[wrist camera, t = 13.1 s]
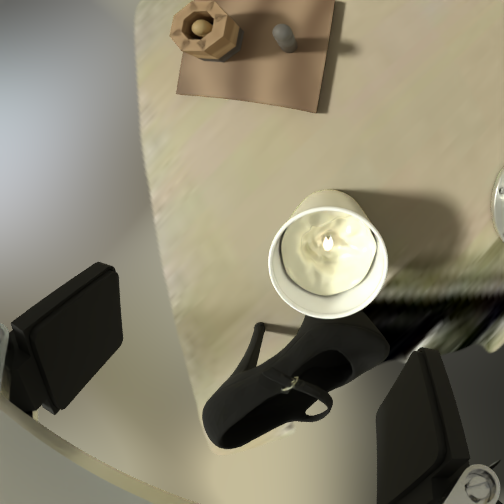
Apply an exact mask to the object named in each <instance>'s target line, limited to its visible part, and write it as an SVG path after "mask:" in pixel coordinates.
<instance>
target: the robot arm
mask: <svg viewBox="0 0 504 504" xmlns="http://www.w3.org/2000/svg"><path fill="white" fill-rule="evenodd" d="M499 189H500V190H499ZM491 212H492V220H493V224H494V227H495V230H496V232H497V234H498V236H499V237H500V239H501V240H502V241H503V242H504V167H503V168H502V169H501V171H500V173H499V175H498V177H497V179H496V181H495V185H494V188H493V193H492V199H491ZM11 326H12V329H13V330H12V331H11V332H10V333H9V331H8V329H7V327H6V326H4V325H3V324H1V323H0V504H199V503H196V502H193V501H190V500H187V499H184V498H182V497H179V496H176V495H174V494H171V493H169V492H166V491H164V490H161V489H159V488H156V487H154V486H151V485H149V484H147V483H145V482H142V481H140V480H138V479H136V478H133V477H131V476H129V475H127V474H125V473H123V472H121V471H119V470H117V469H115V468H113V467H111V466H109V465H107V464H105V463H103V462H102V461H100V460H98V459H96V458H94V457H92V456H91V455H89V454H87V453H85V452H84V451H82V450H80V449H78V448H77V447H75V446H74V445H72V444H70V443H69V442H67V441H66V440H64V439H62V438H61V437H59V436H58V435H56V434H54V433H53V432H52V431H50V430H49V429H47V428H46V427H44V426H43V425H41V424H40V423H38V408H39V407H40V406H41V405H42V406H43V408H45V409H46V410H48V411H49V412H51V413H52V414H54V415H55V414H56V413H57V412H58V411H59V410H60V409H61V410H63V409H65V408H66V407H67V406H68V405H69V404H70V402H71V401H72V400H73V399H74V398H75V396H77V394H78V393H79V392H80V391H81V390H82V389H83V387H84V386H85V385H86V384H87V383H88V382H89V380H91V378H92V377H93V376H94V375H95V374H96V373H97V372H98V371H99V369H100V368H101V367H102V366H103V365H104V364H105V363H106V361H107V360H108V359H109V358H110V357H111V356H112V355H113V354H114V353H115V351H116V350H117V349H118V348H119V347H120V346H121V344H122V341H123V333H122V332H123V331H122V320H121V307H120V293H119V276H118V274H117V273H116V271H115V268H114V267H113V266H110V265H107V264H104V263H101V262H97V263H95V264H93V265H92V266H90V267H89V268H87V269H86V270H84V271H83V272H81V273H80V274H78V275H77V276H75V277H74V278H73V279H71V280H69V281H68V282H67V283H65V284H64V285H62V286H61V287H59V288H58V289H56V290H55V291H54V292H52V293H51V294H49V295H48V296H47V297H45V298H44V299H42V300H41V301H40V302H38V303H37V304H35V305H34V306H33V307H31V308H30V309H29V310H27V311H26V312H25V313H23V314H22V315H21V316H19V317H18V318H17V319H15V320H14V321H13V322H11ZM376 433H377V504H502V503H501V502H500V501H499V500H498V498H499V494H500V483H499V480H498V477H497V476H496V474H495V473H494V472H493V471H492V470H491V469H490V468H488V467H487V466H485V465H480V464H476V465H471V466H469V461H468V460H469V459H470V455H469V451H468V446H467V443H466V439H465V434H464V430H463V427H462V423H461V419H460V416H459V412H458V408H457V405H456V401H455V399H454V395H453V392H452V388H451V385H450V383H449V379H448V376H447V373H446V370H445V367H444V365H443V361H442V359H441V356H440V353H439V351H437V350H434V349H428V348H423V347H421V348H419V349H418V351H413V352H412V354H411V355H410V357H409V359H408V361H407V363H406V364H405V366H404V368H403V370H402V371H401V373H400V375H399V377H398V378H397V380H396V382H395V383H394V385H393V387H392V388H391V390H390V392H389V393H388V395H387V396H386V398H385V399H384V401H383V403H382V404H381V406H380V407H379V409H378V411H377V415H376Z"/></svg>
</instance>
